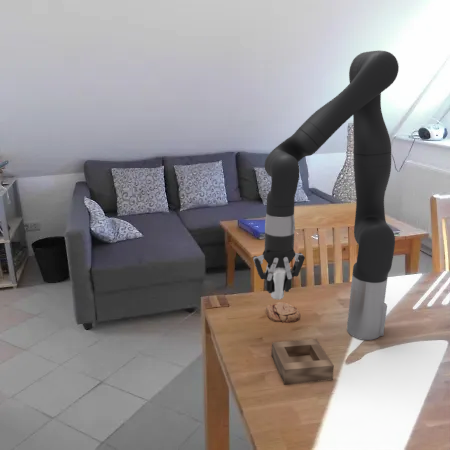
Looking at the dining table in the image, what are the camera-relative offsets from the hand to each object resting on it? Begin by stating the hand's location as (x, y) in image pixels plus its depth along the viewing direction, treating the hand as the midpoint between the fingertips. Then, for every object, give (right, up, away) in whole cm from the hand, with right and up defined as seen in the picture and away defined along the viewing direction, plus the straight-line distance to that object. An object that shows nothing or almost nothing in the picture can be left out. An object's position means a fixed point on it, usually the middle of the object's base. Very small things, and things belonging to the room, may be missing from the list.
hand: (277, 291), depth 129 cm
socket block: (+5, -18, -8) cm, 20 cm away
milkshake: (0, -2, +1) cm, 2 cm away
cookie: (+3, -10, +18) cm, 21 cm away
